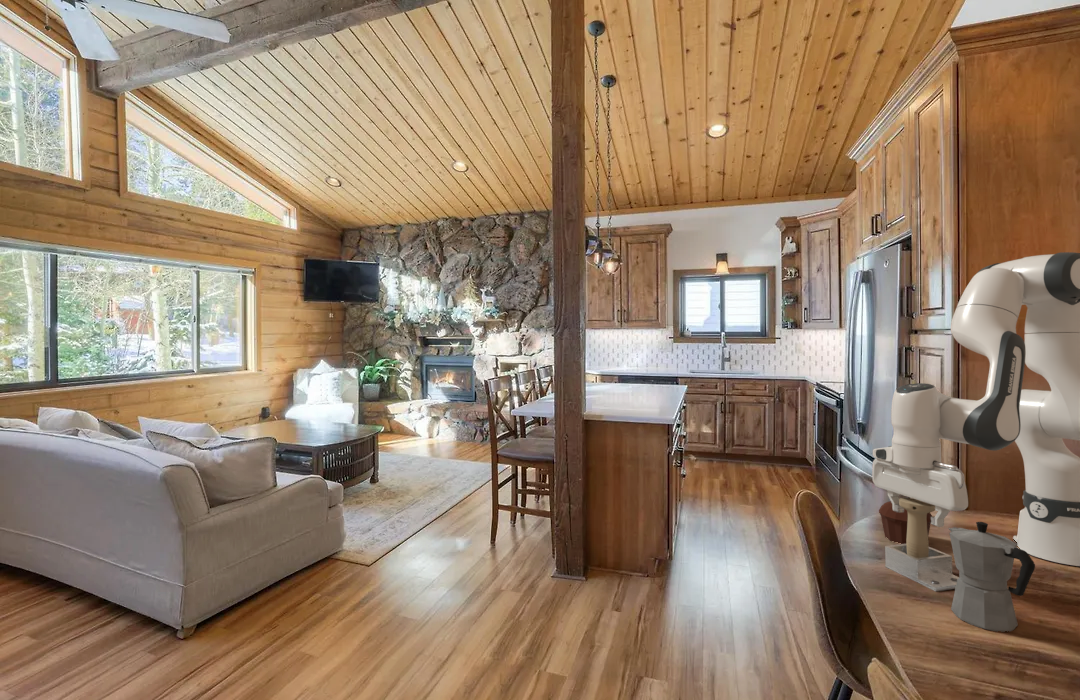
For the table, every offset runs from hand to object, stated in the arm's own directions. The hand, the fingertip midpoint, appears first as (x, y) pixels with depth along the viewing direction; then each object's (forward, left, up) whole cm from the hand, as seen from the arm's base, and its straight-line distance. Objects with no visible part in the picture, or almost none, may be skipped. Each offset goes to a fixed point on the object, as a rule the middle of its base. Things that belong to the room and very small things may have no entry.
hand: (917, 518), depth 112 cm
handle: (0, 0, -12) cm, 12 cm away
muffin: (-14, -16, -12) cm, 25 cm away
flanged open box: (0, +2, -12) cm, 12 cm away
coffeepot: (+6, +19, -12) cm, 24 cm away
